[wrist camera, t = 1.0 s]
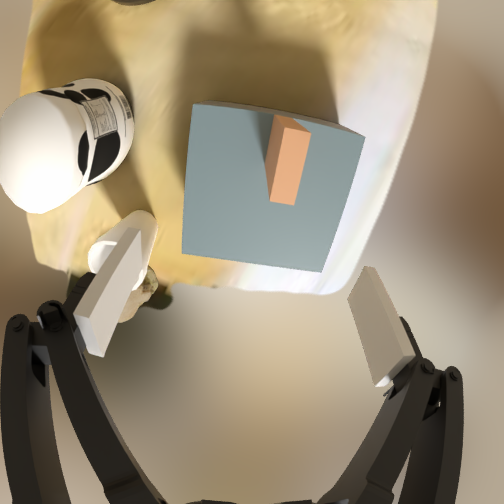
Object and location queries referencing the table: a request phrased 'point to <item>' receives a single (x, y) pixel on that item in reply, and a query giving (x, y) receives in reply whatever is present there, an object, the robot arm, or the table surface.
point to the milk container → (62, 142)
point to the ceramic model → (139, 295)
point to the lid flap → (265, 187)
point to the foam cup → (110, 238)
